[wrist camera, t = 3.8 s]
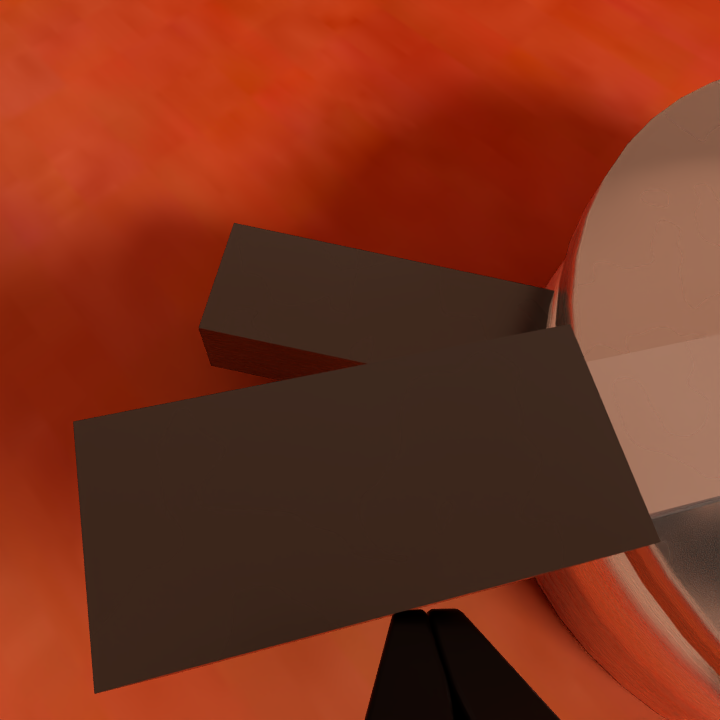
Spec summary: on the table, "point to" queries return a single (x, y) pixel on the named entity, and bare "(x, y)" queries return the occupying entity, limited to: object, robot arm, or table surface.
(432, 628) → the robot arm
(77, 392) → the table surface
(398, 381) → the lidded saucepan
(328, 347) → the pressure pot
